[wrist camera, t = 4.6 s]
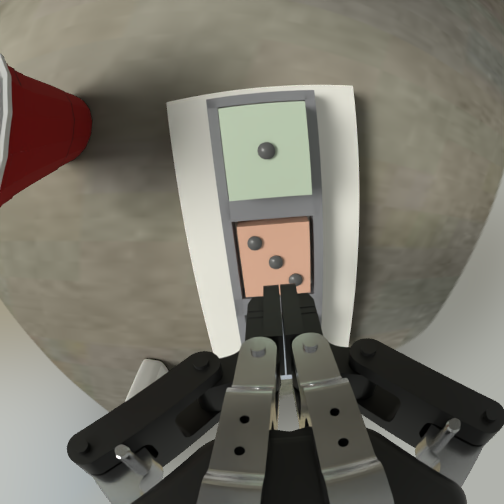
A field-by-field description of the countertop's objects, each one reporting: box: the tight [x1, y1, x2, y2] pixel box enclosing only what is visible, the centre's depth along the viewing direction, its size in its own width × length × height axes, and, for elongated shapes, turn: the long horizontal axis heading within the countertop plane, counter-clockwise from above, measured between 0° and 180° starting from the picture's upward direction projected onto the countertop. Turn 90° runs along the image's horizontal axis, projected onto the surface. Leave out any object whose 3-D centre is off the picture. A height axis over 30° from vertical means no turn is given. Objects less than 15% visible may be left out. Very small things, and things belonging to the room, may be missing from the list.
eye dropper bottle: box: [125, 359, 169, 402], centre depth 23 cm, size 4×6×12 cm
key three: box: [237, 216, 310, 297], centre depth 18 cm, size 5×4×2 cm
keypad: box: [166, 85, 359, 358], centre depth 20 cm, size 22×12×4 cm, turn 6°
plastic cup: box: [0, 54, 92, 207], centre depth 12 cm, size 11×11×12 cm
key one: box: [218, 101, 312, 201], centre depth 14 cm, size 5×4×2 cm
